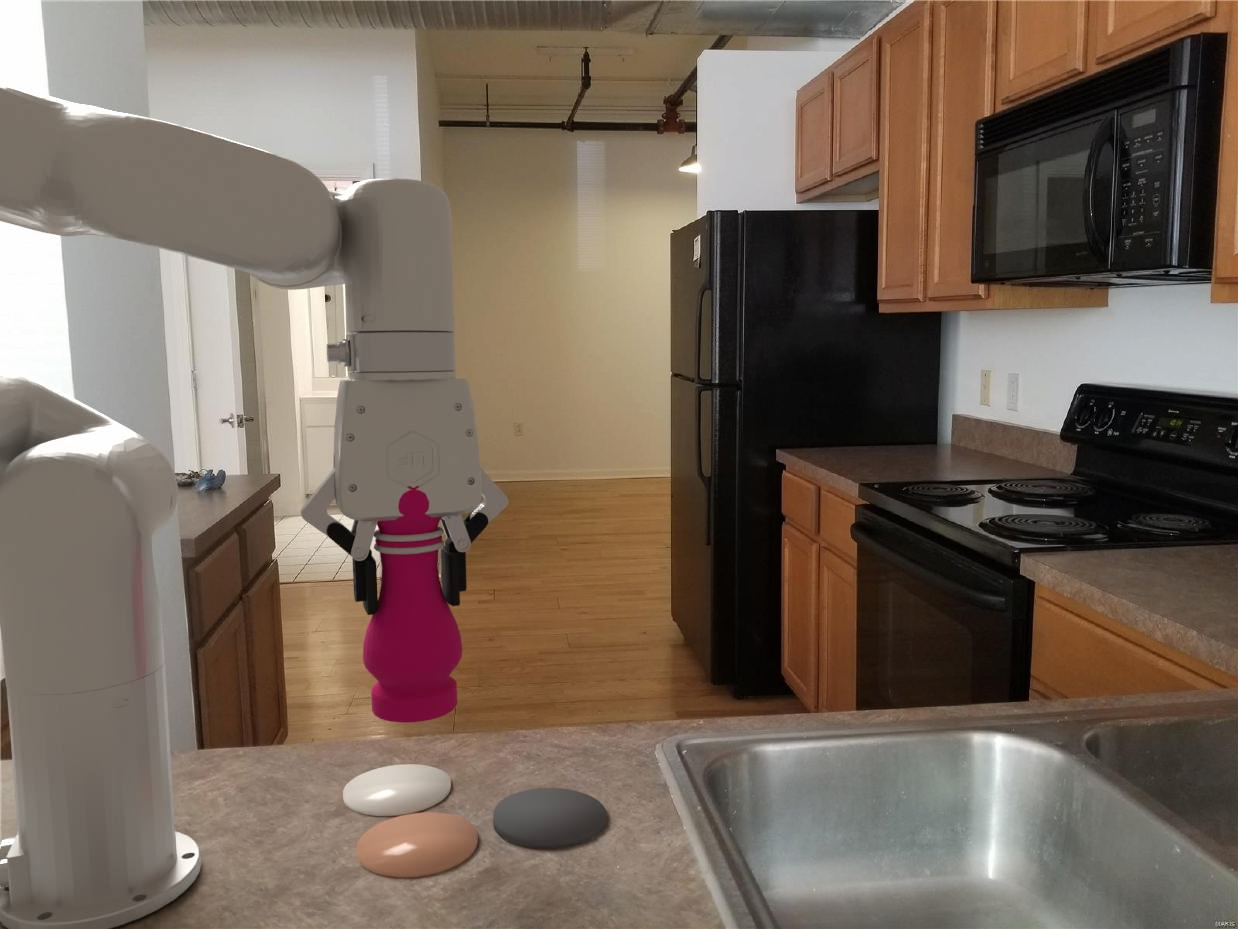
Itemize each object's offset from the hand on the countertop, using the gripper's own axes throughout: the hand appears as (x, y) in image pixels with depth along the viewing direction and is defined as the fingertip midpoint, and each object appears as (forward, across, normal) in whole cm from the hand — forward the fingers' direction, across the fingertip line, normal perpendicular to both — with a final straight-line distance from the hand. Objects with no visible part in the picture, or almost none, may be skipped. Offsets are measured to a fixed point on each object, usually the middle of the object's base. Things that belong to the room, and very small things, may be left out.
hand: (411, 603), depth 71 cm
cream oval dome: (+19, 0, +10) cm, 22 cm away
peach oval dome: (+19, 0, 0) cm, 19 cm away
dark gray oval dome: (+19, +10, 0) cm, 22 cm away
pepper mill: (+8, 0, 0) cm, 8 cm away
